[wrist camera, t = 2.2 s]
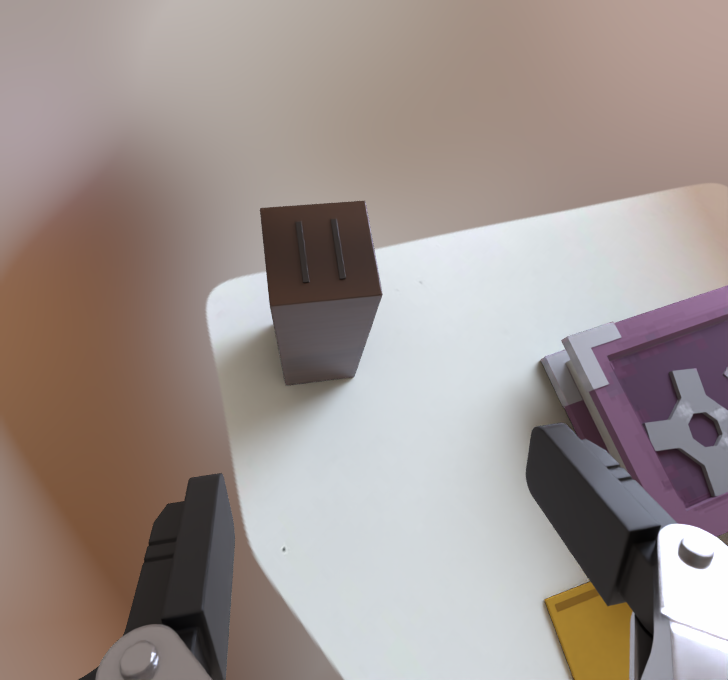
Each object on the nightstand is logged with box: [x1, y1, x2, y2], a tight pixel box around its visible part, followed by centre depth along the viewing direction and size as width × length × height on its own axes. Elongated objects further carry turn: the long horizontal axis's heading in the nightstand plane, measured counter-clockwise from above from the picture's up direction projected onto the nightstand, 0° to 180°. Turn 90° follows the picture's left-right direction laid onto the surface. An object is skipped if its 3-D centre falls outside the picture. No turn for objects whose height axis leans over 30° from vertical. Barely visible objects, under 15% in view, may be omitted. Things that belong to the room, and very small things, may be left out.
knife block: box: [260, 201, 382, 385], centre depth 32 cm, size 6×6×16 cm
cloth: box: [545, 581, 633, 680], centre depth 34 cm, size 14×12×1 cm
